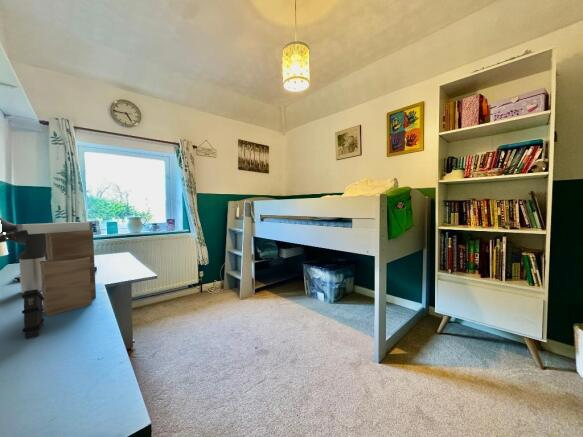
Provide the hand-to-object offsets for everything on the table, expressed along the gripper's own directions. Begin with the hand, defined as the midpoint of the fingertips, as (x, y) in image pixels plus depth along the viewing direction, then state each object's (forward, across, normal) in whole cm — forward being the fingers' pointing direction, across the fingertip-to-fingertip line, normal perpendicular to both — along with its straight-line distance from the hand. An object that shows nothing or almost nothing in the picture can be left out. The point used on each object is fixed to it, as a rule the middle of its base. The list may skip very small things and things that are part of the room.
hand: (23, 232), depth 100 cm
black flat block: (-13, -26, +32) cm, 43 cm away
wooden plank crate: (+4, -6, +35) cm, 35 cm away
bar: (+10, -2, +3) cm, 10 cm away
